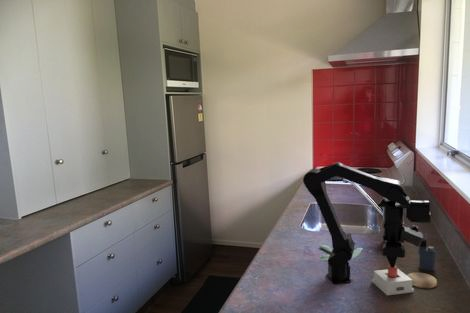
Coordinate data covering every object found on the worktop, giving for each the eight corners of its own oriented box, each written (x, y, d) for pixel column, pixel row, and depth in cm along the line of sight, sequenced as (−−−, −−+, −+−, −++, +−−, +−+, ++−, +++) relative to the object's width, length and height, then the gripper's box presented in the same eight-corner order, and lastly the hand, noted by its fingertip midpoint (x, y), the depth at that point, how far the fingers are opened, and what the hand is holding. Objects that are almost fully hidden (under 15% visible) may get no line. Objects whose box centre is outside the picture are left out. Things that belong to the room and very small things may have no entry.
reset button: (390, 282, 119) (391, 269, 118) (386, 278, 122) (386, 265, 121) (398, 281, 119) (399, 268, 118) (394, 277, 122) (394, 264, 121)
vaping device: (418, 265, 135) (419, 233, 133) (435, 268, 132) (436, 236, 130) (417, 268, 132) (418, 236, 131) (434, 271, 130) (435, 238, 128)
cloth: (318, 265, 140) (318, 259, 140) (309, 243, 162) (309, 237, 161) (373, 263, 139) (373, 257, 139) (357, 241, 161) (357, 236, 160)
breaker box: (387, 295, 116) (387, 283, 115) (372, 281, 124) (372, 270, 124) (413, 292, 117) (413, 280, 116) (397, 278, 126) (397, 267, 125)
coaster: (417, 289, 118) (417, 286, 118) (400, 276, 127) (401, 274, 127) (443, 286, 119) (443, 283, 119) (425, 273, 128) (425, 271, 128)
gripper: (424, 232, 106) (423, 283, 108) (419, 213, 123) (417, 257, 125) (382, 229, 110) (382, 278, 112) (383, 210, 127) (382, 254, 129)
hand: (392, 266), depth 120 cm, fingers closed, pressing on reset button
